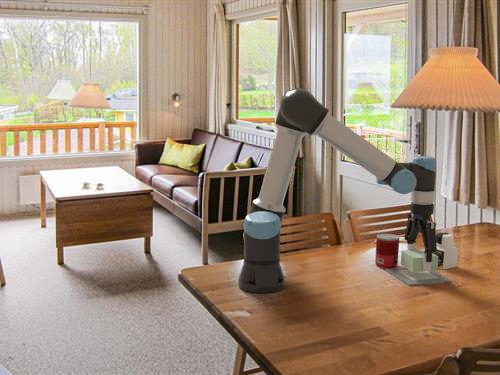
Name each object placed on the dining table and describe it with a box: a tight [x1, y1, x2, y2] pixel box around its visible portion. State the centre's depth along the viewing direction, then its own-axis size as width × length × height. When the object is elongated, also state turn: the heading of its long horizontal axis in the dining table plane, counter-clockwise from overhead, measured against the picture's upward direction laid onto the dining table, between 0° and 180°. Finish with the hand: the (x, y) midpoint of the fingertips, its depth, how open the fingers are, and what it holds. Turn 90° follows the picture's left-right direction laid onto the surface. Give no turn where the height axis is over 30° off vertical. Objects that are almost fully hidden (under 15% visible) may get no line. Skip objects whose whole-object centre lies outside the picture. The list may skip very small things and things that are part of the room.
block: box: [400, 248, 439, 272], centre depth 201 cm, size 9×9×5 cm
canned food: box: [374, 233, 400, 270], centre depth 212 cm, size 8×8×11 cm
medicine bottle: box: [433, 232, 459, 270], centre depth 212 cm, size 7×7×12 cm
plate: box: [385, 266, 453, 287], centre depth 202 cm, size 16×16×1 cm
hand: (418, 266), depth 201 cm, fingers closed on block, 9 cm apart
